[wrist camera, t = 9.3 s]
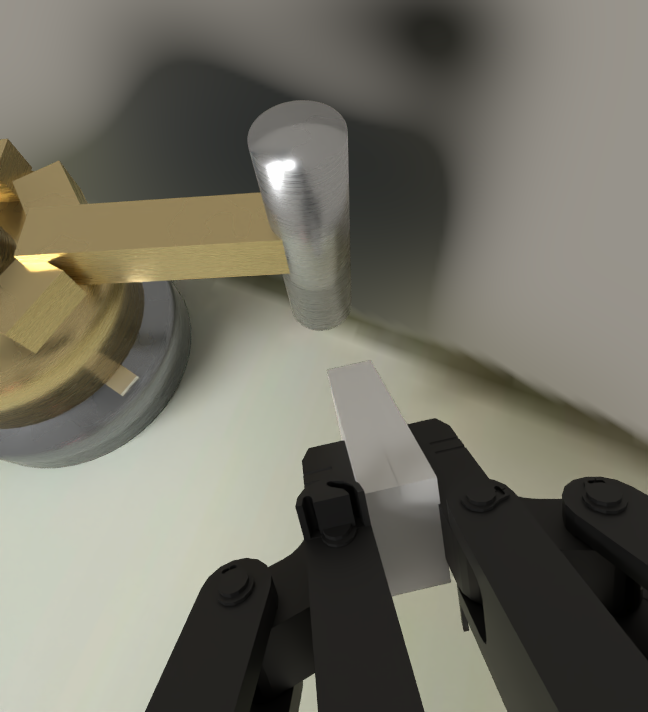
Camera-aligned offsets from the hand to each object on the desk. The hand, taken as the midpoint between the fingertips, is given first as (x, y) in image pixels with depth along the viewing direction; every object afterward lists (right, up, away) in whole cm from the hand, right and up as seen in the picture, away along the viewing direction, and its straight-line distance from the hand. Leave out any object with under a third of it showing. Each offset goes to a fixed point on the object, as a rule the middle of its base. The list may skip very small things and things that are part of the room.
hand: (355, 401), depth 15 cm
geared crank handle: (-9, +3, +5) cm, 11 cm away
